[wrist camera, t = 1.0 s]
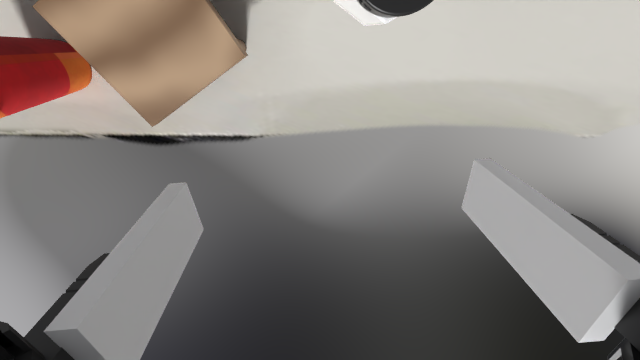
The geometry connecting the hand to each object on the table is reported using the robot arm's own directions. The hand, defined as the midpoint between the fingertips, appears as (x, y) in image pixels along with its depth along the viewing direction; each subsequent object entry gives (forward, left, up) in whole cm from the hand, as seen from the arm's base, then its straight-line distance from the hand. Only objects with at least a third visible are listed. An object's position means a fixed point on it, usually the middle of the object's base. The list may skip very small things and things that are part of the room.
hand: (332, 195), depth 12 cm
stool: (-14, -10, -25) cm, 31 cm away
